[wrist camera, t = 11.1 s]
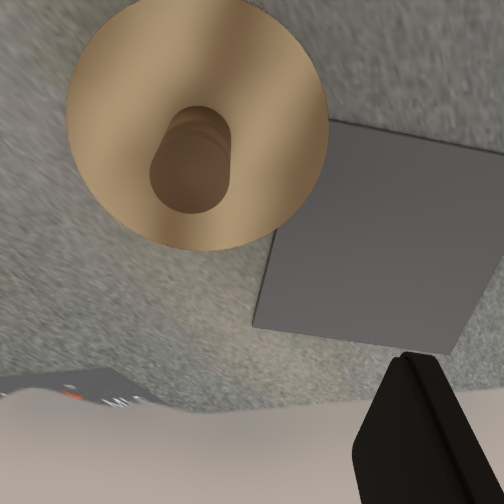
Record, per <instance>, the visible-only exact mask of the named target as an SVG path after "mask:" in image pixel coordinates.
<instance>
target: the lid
mask: <svg viewBox="0 0 504 504" xmlns="http://www.w3.org/2000/svg"><path fill="white" fill-rule="evenodd" d="M66 123H67V134H68V139H69V144H70V149H71V152H72V155H73V157H74V160H75V163H76V166H77V168H78V170H79V172H80V174H81V176H82V178H83V180H84V182H85V183H86V185H87V186H88V188H89V190H90V191H91V193H92V194H93V195H94V197H95V198H96V199H97V200H98V201H99V203H100V204H101V205H102V206H103V207H104V208H105V209H106V210H107V211H108V212H109V213H110V214H111V215H112V216H113V217H114V218H115V219H117V220H118V221H119V222H121V223H122V224H123V225H125V226H126V227H127V228H129V229H131V230H132V231H134V232H136V233H137V234H139V235H141V236H143V237H145V238H147V239H149V240H152V241H154V242H157V243H160V244H163V245H166V246H169V247H174V248H178V249H183V250H193V251H216V250H223V249H230V248H234V247H238V246H242V245H245V244H247V243H250V242H252V241H255V240H257V239H259V238H261V237H263V236H265V235H267V234H269V233H270V232H272V231H273V230H275V229H276V228H278V227H279V226H281V225H282V224H283V223H284V222H285V221H287V220H288V219H289V218H290V217H291V216H292V215H293V214H294V213H295V212H296V211H297V210H298V209H299V207H300V206H301V205H302V204H303V203H304V201H305V200H306V198H307V197H308V195H309V194H310V192H311V191H312V189H313V187H314V185H315V183H316V181H317V179H318V177H319V175H320V172H321V169H322V166H323V163H324V160H325V155H326V151H327V146H328V134H329V120H328V108H327V103H326V98H325V93H324V90H323V87H322V84H321V81H320V78H319V76H318V74H317V71H316V69H315V67H314V65H313V63H312V61H311V59H310V58H309V56H308V55H307V53H306V52H305V50H304V49H303V47H302V46H301V44H300V43H299V42H298V41H297V40H296V39H295V38H294V37H293V35H292V34H291V33H290V32H289V31H288V30H287V29H286V28H285V27H284V26H283V25H281V24H280V23H279V22H278V21H277V20H276V19H274V18H273V17H272V16H271V15H269V14H268V13H266V12H264V11H263V10H261V9H260V8H258V7H257V6H255V5H253V4H250V3H248V2H246V1H244V0H140V1H138V2H136V3H134V4H132V5H130V6H128V7H126V8H125V9H123V10H122V11H120V12H119V13H118V14H116V15H115V16H113V17H112V18H111V19H109V20H108V21H107V22H106V23H105V24H104V25H103V26H102V27H101V28H100V29H99V30H98V31H97V32H96V33H95V35H94V36H93V37H92V39H91V40H90V41H89V43H88V44H87V45H86V47H85V49H84V50H83V52H82V54H81V56H80V58H79V60H78V61H77V64H76V66H75V69H74V72H73V75H72V77H71V81H70V85H69V90H68V95H67V106H66Z"/></svg>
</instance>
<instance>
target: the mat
mask: <svg viewBox="0 0 504 504" xmlns="http://www.w3.org/2000/svg"><path fill="white" fill-rule="evenodd" d="M328 120H329V134H328V146H327V151H326V155H325V160H324V163H323V166H322V169H321V172H320V175H319V177H318V179H317V181H316V183H315V185H314V187H313V189H312V191H311V192H310V194H309V195H308V197H307V198H306V200H305V201H304V203H303V204H302V205H301V206H300V207H299V209H298V210H297V211H296V212H295V213H294V214H293V215H292V216H291V217H290V218H289V219H288V220H287V221H285V222H284V223H283V224H282V225H281V226H279V227H278V228H276V230H275V234H274V238H273V242H272V246H271V250H270V254H269V258H268V262H267V266H266V270H265V274H264V278H263V282H262V286H261V290H260V294H259V298H258V301H257V305H256V309H255V313H254V317H253V321H252V327H254V328H262V329H269V330H276V331H283V332H290V333H297V334H304V335H311V336H318V337H325V338H332V339H339V340H346V341H353V342H360V343H367V344H374V345H381V346H388V347H395V348H402V349H409V350H416V351H423V352H430V353H437V354H444V355H450V354H451V352H452V350H453V348H454V346H455V345H456V343H457V341H458V339H459V337H460V335H461V333H462V331H463V330H464V328H465V326H466V324H467V322H468V320H469V318H470V316H471V314H472V313H473V311H474V309H475V307H476V305H477V303H478V301H479V299H480V298H481V296H482V294H483V292H484V290H485V288H486V286H487V284H488V282H489V281H490V279H491V277H492V275H493V273H494V271H495V269H496V267H497V266H498V264H499V262H500V260H501V258H502V256H503V254H504V154H501V153H496V152H491V151H486V150H481V149H476V148H471V147H466V146H461V145H456V144H451V143H446V142H441V141H436V140H431V139H426V138H421V137H416V136H411V135H406V134H401V133H396V132H391V131H386V130H381V129H376V128H371V127H366V126H361V125H356V124H351V123H346V122H341V121H336V120H331V119H328Z"/></svg>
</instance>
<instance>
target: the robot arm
mask: <svg viewBox="0 0 504 504" xmlns="http://www.w3.org/2000/svg"><path fill="white" fill-rule="evenodd" d="M352 461H353V466H354V471H355V476H356V480H357V484H358V489H359V494H360V499H361V503H362V504H504V493H503V491H502V489H501V487H500V484H499V482H498V480H497V479H496V477H495V474H494V473H493V470H492V468H491V467H490V465H489V463H488V460H487V458H486V456H485V455H484V452H483V450H482V448H481V446H480V445H479V442H478V441H477V439H476V437H475V434H474V432H473V430H472V429H471V426H470V424H469V423H468V421H467V418H466V416H465V414H464V412H463V410H462V408H461V406H460V405H459V402H458V400H457V398H456V397H455V394H454V392H453V390H452V388H451V386H450V384H449V382H448V380H447V378H446V376H445V374H444V372H443V370H442V368H441V366H440V364H439V362H438V361H437V359H436V358H435V357H434V356H432V355H426V354H420V353H413V352H404V353H402V354H401V356H400V357H394V358H393V359H392V361H391V362H390V365H389V367H388V369H387V371H386V373H385V375H384V378H383V380H382V382H381V384H380V386H379V388H378V391H377V393H376V395H375V397H374V399H373V402H372V404H371V406H370V408H369V410H368V413H367V415H366V417H365V419H364V421H363V423H362V425H361V428H360V430H359V432H358V434H357V436H356V439H355V441H354V443H353V447H352Z"/></svg>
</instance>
